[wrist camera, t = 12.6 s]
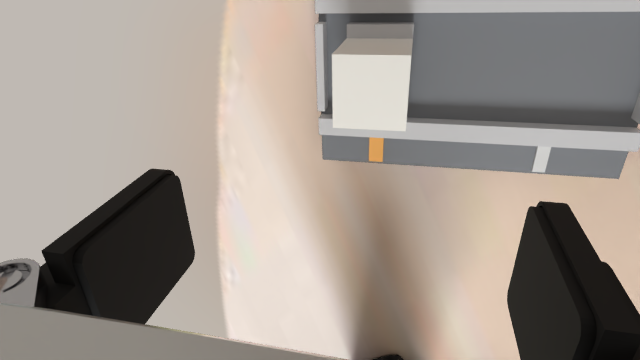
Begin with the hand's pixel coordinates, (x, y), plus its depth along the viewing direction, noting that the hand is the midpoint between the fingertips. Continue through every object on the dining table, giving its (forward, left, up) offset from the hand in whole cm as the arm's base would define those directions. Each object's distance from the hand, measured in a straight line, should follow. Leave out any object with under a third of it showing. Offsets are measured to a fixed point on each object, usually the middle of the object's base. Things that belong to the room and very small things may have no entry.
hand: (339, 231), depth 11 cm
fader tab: (+1, 0, -18) cm, 18 cm away
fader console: (-5, 0, -21) cm, 21 cm away
